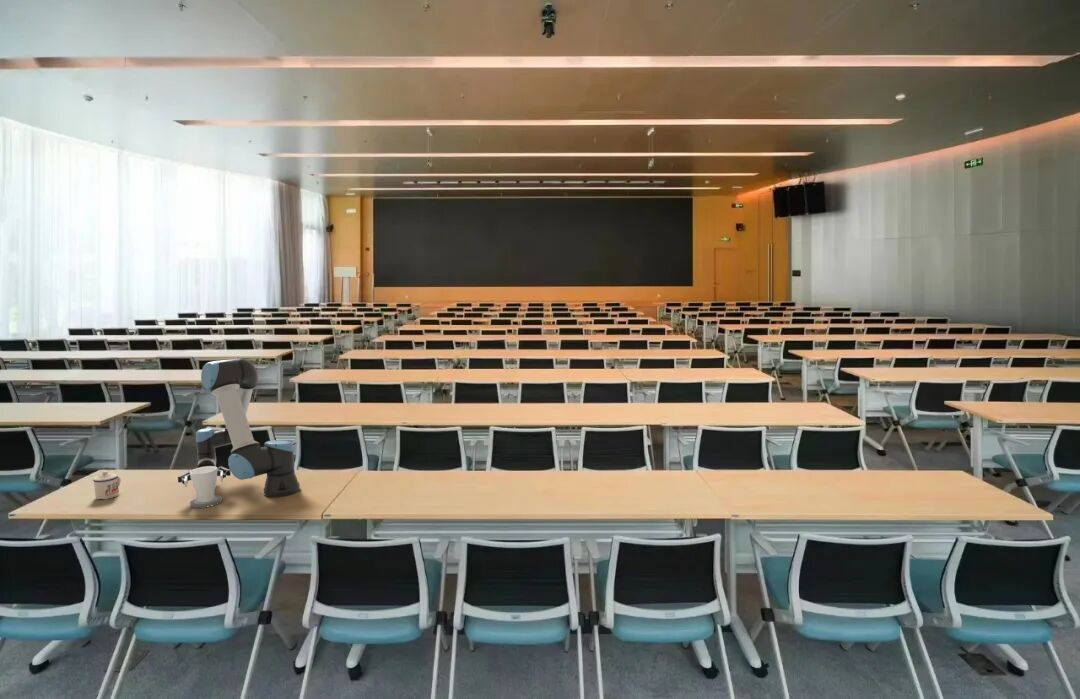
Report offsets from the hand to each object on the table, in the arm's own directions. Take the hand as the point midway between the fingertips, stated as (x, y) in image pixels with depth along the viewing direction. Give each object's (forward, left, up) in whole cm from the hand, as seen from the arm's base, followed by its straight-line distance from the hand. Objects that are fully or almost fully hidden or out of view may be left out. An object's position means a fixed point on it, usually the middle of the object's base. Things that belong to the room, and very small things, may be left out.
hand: (203, 481), depth 264 cm
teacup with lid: (+53, +4, -11) cm, 54 cm away
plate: (+2, -2, -11) cm, 11 cm away
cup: (+2, -2, -10) cm, 10 cm away
